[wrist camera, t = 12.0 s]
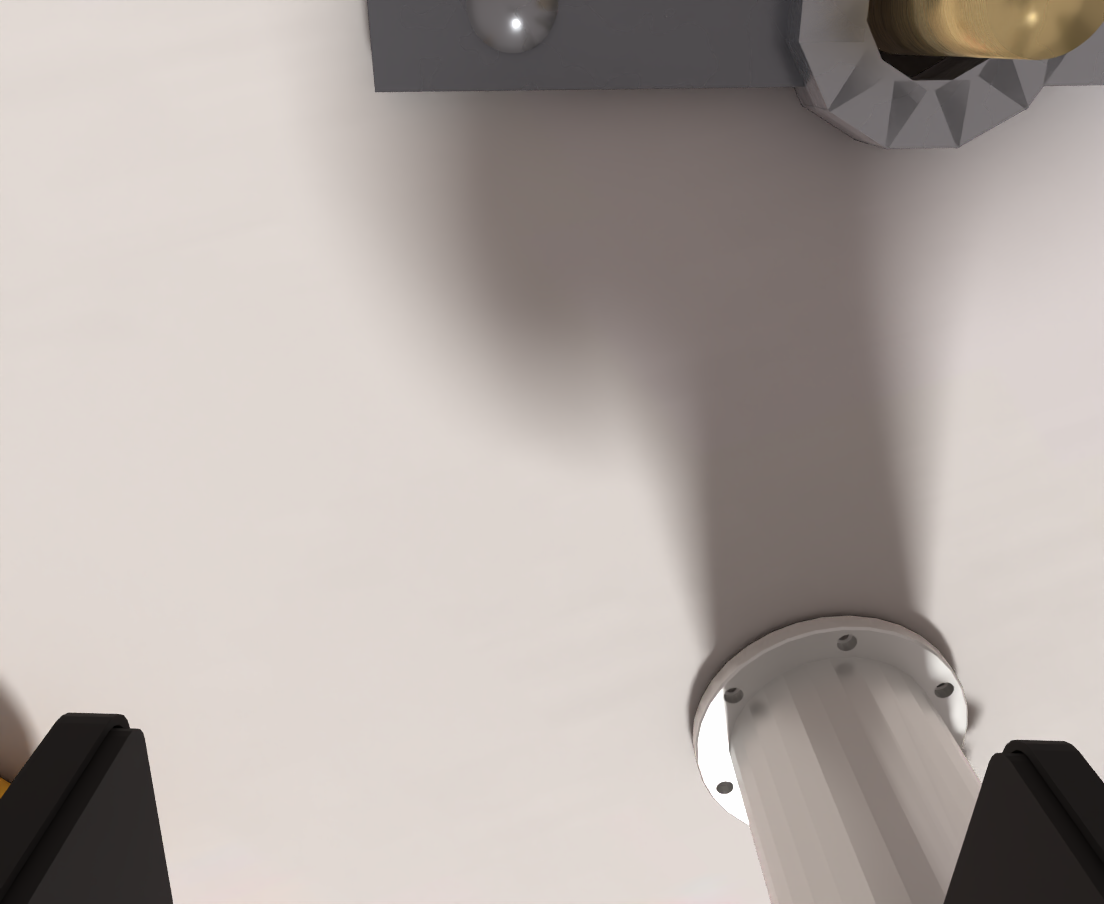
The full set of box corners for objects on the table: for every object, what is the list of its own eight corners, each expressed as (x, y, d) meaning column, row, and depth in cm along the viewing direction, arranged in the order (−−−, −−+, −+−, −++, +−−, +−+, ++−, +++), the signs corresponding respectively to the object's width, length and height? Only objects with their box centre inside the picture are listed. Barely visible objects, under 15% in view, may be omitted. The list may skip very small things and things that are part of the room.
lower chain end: (1066, -157, 28) (1111, -173, 25) (1009, 138, 31) (1044, 144, 29) (361, -151, 27) (348, -167, 25) (386, 146, 31) (376, 153, 29)
